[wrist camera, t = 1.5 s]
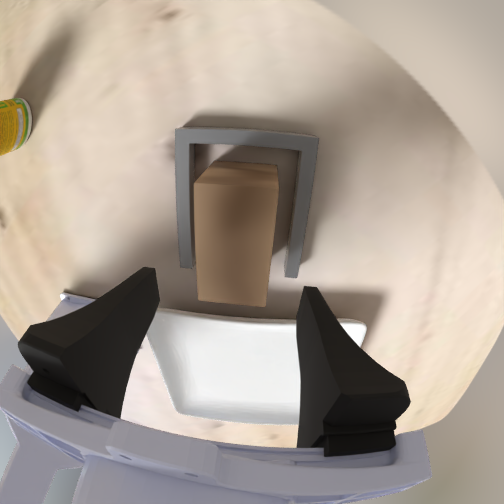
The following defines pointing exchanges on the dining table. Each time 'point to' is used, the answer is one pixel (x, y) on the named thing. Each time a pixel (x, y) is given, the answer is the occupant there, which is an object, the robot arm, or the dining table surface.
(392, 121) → the dining table surface
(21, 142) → the supplement bottle
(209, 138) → the bay
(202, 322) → the salad plate
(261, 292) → the tan cardboard box
